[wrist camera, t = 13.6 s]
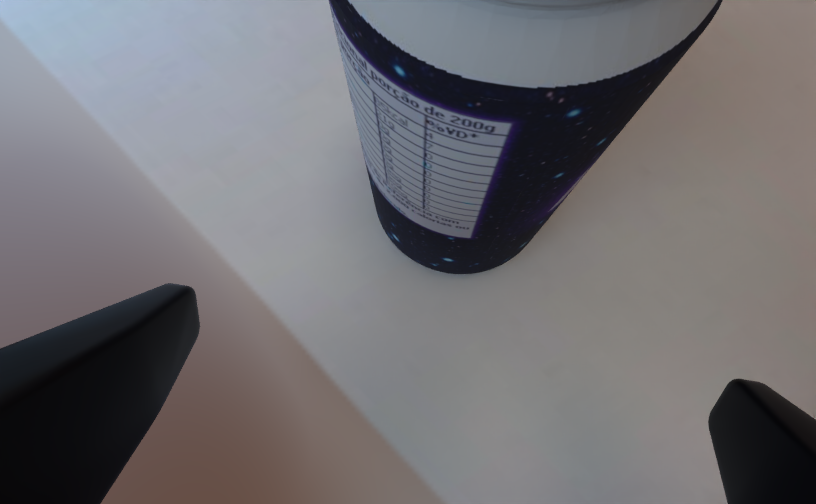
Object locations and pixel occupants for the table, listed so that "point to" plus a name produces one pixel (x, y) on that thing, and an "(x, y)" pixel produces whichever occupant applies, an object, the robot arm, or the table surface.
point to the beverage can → (496, 108)
